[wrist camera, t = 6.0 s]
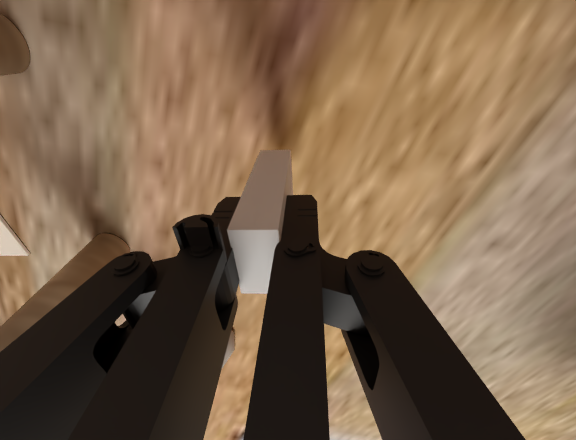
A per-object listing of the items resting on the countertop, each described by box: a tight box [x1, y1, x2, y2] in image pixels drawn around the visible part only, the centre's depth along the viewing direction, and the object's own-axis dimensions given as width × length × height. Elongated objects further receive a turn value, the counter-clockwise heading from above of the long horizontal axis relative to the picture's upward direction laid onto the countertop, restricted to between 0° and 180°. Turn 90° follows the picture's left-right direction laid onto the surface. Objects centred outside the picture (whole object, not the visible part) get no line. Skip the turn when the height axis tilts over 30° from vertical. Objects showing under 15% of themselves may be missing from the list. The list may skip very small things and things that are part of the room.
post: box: [0, 233, 130, 352], centre depth 16 cm, size 3×3×9 cm
